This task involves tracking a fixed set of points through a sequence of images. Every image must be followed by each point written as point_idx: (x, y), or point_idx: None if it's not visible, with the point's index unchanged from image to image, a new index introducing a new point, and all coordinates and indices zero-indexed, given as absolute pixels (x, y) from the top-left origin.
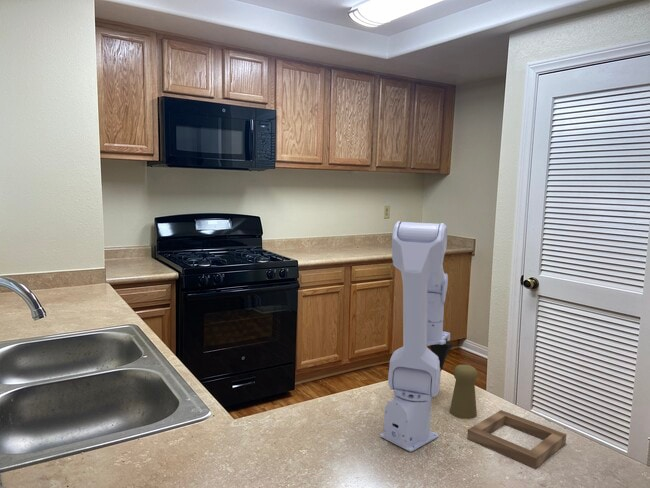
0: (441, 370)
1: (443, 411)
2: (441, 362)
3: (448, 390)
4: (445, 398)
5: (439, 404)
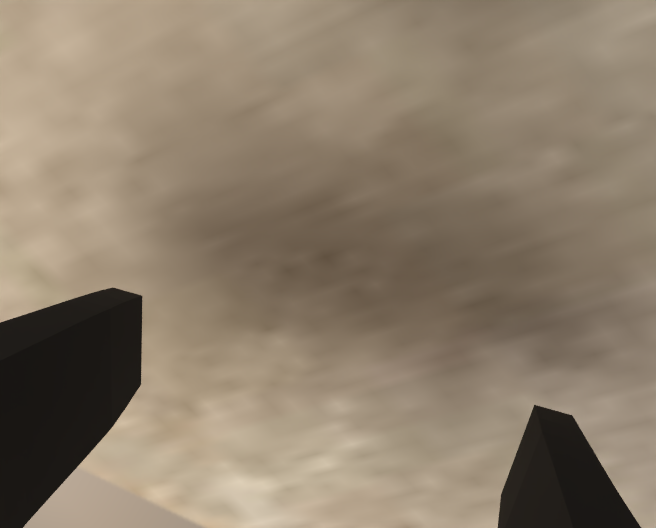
0: (107, 290)
1: (583, 6)
2: (46, 354)
3: (101, 165)
4: (269, 120)
5: (437, 113)
